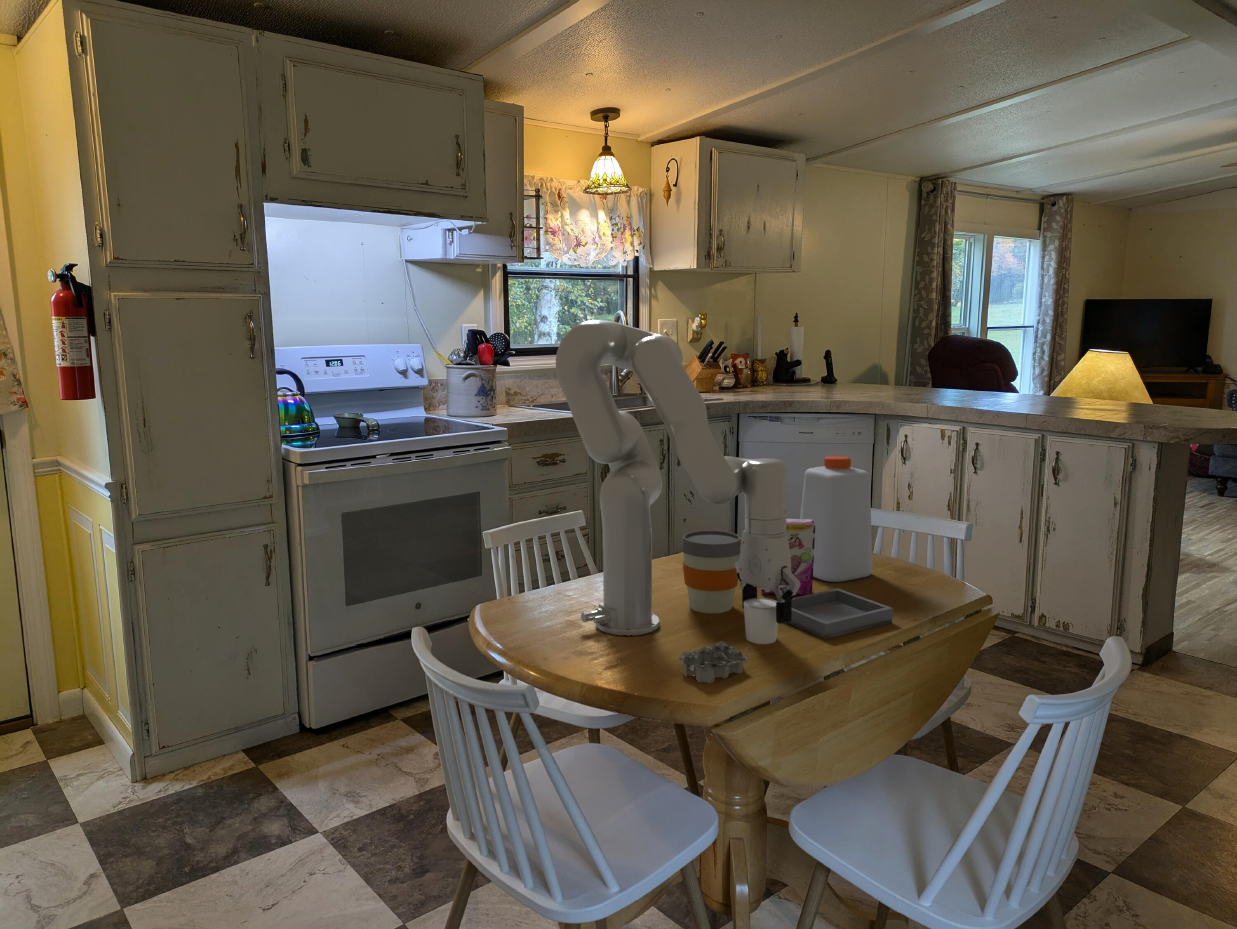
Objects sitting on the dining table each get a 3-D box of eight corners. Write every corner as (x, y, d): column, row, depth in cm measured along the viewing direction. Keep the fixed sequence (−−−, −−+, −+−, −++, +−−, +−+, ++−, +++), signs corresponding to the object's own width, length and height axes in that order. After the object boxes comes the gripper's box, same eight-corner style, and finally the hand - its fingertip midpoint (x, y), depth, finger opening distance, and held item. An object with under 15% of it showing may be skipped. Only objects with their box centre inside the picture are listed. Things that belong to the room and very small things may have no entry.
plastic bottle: (787, 569, 205) (791, 455, 201) (835, 561, 212) (839, 451, 208) (830, 585, 192) (835, 464, 187) (879, 576, 199) (885, 459, 194)
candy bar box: (761, 595, 185) (763, 522, 182) (760, 588, 190) (761, 517, 187) (813, 597, 184) (816, 523, 181) (810, 590, 189) (813, 518, 186)
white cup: (785, 636, 160) (786, 601, 159) (771, 648, 155) (772, 611, 153) (751, 629, 164) (752, 595, 163) (736, 640, 158) (737, 604, 157)
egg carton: (702, 688, 138) (702, 664, 138) (674, 672, 144) (674, 649, 144) (751, 673, 144) (751, 650, 143) (722, 658, 150) (723, 636, 150)
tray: (824, 639, 159) (825, 624, 158) (772, 616, 171) (772, 602, 171) (892, 622, 168) (892, 608, 167) (837, 601, 180) (837, 588, 180)
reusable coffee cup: (750, 603, 180) (752, 534, 177) (724, 620, 169) (725, 547, 167) (698, 593, 186) (699, 527, 184) (669, 609, 176) (670, 539, 174)
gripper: (720, 520, 161) (722, 606, 164) (781, 537, 146) (782, 631, 149) (751, 515, 165) (752, 599, 168) (813, 531, 150) (813, 623, 153)
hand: (766, 614), depth 158 cm, fingers open, 9 cm apart
